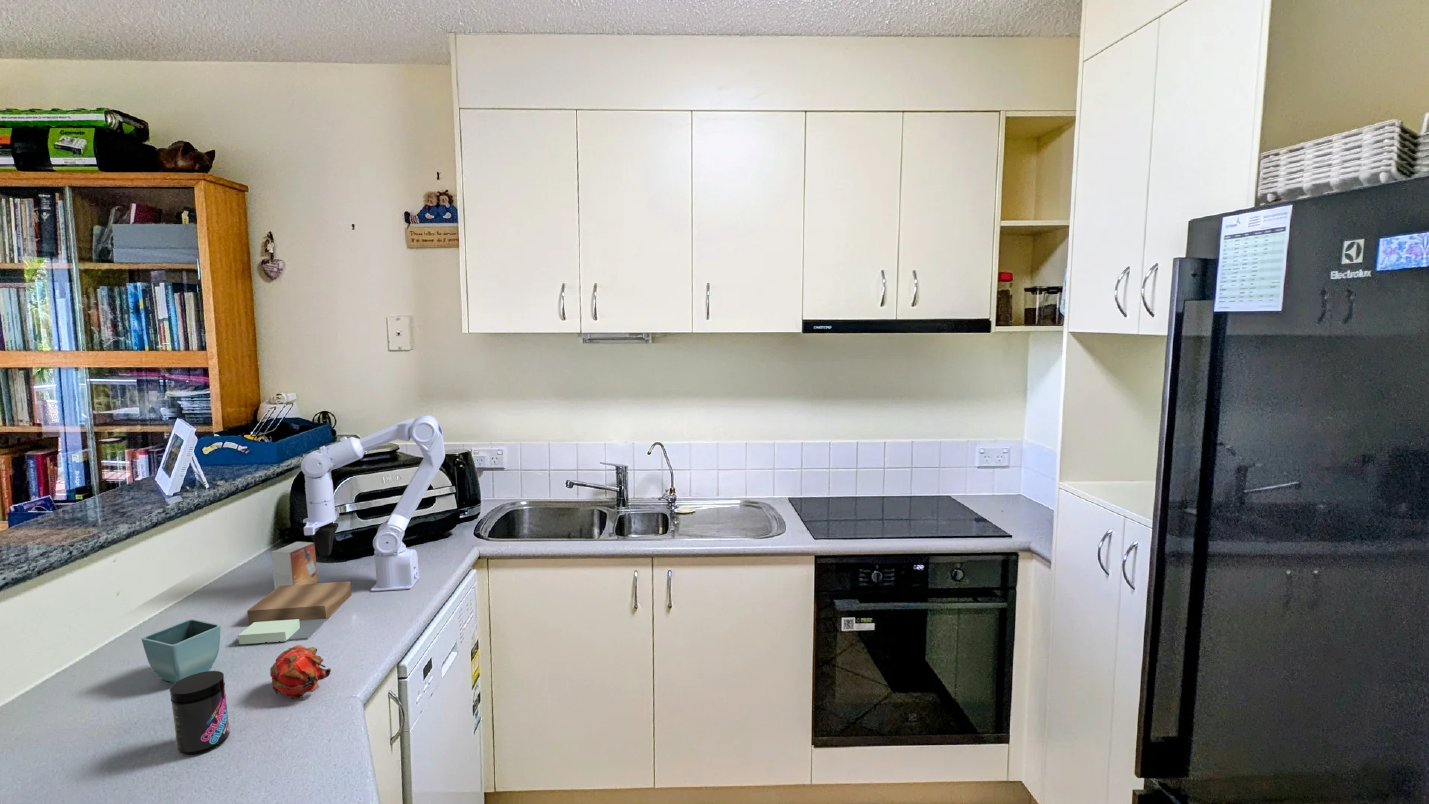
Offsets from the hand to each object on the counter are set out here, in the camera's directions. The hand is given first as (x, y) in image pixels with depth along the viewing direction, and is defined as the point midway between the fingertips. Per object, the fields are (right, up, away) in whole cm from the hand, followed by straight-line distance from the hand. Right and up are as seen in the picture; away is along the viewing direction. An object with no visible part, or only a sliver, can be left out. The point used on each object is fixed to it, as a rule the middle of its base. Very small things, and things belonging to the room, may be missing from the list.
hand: (325, 554), depth 162 cm
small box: (-11, -10, +6) cm, 15 cm away
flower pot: (-5, -15, -36) cm, 40 cm away
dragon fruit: (+20, -15, -42) cm, 49 cm away
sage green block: (+1, -10, -22) cm, 24 cm away
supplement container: (+14, -17, -57) cm, 61 cm away
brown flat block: (-1, -11, -8) cm, 14 cm away
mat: (+2, -12, -19) cm, 23 cm away
